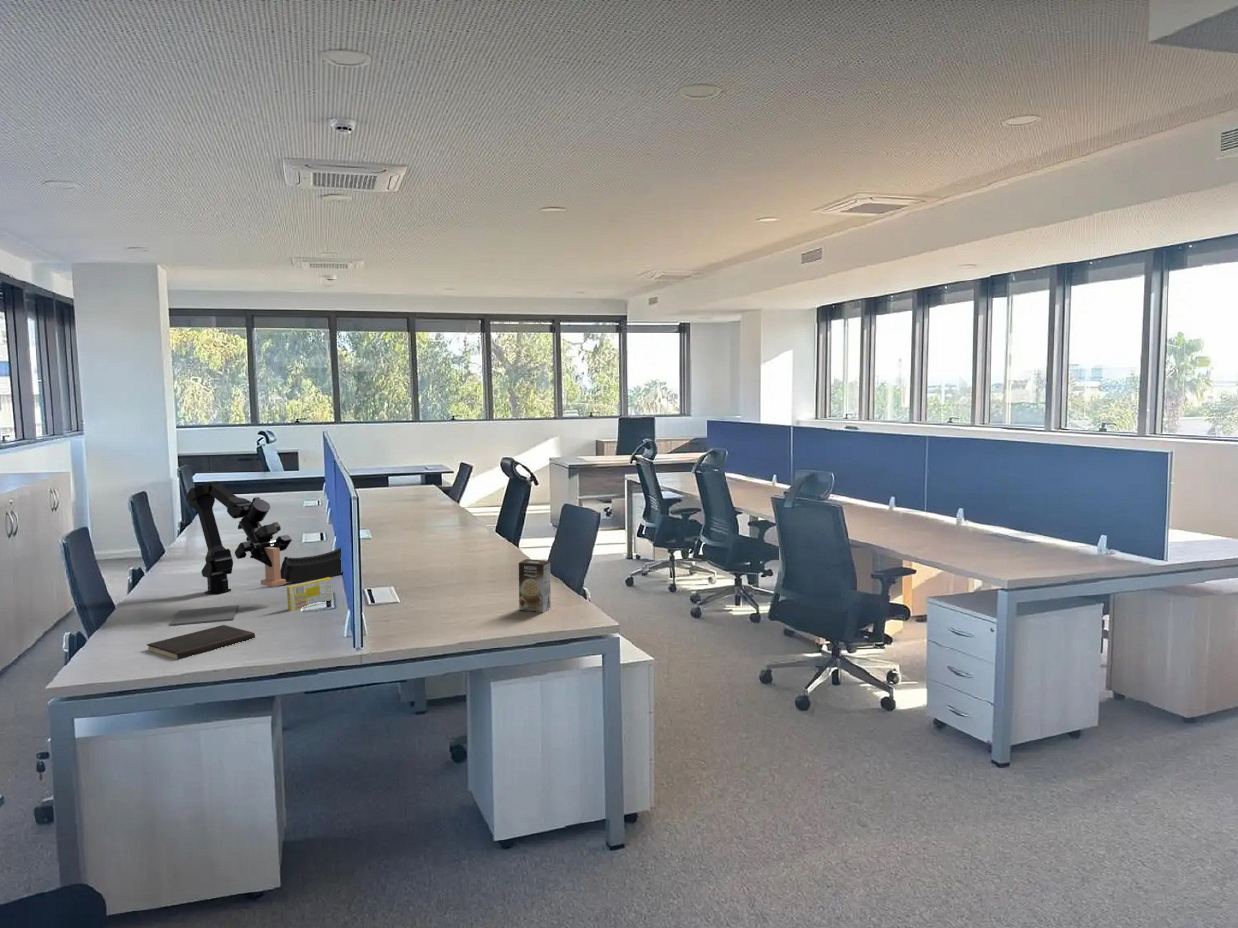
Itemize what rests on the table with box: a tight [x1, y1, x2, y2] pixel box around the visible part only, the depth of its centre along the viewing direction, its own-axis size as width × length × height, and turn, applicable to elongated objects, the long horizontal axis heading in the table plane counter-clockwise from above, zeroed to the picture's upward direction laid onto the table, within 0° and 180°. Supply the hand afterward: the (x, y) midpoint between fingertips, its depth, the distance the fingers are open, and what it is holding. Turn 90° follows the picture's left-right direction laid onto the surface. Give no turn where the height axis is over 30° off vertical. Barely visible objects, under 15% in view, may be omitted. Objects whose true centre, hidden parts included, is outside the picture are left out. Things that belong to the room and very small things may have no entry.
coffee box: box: [518, 558, 552, 613], centre depth 275 cm, size 9×6×16 cm
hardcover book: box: [146, 624, 256, 661], centre depth 241 cm, size 16×23×2 cm
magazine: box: [280, 547, 342, 583], centre depth 325 cm, size 17×3×30 cm
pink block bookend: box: [260, 547, 287, 588], centre depth 286 cm, size 6×5×12 cm
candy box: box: [286, 577, 334, 612], centre depth 284 cm, size 16×2×8 cm, turn 144°
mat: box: [169, 604, 239, 627], centre depth 273 cm, size 18×18×1 cm
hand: (275, 565), depth 285 cm, fingers closed on pink block bookend, 2 cm apart
